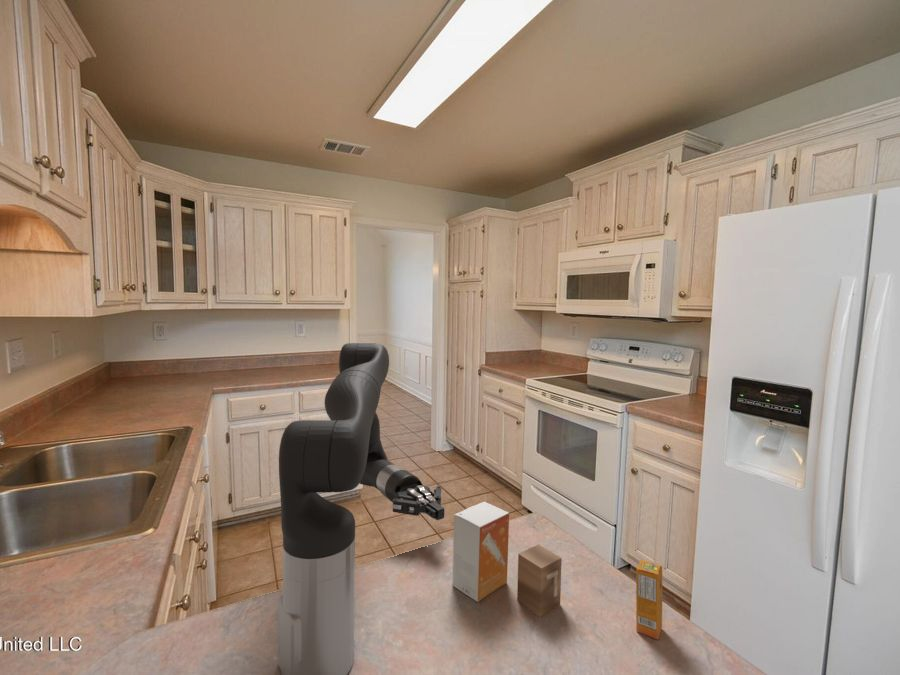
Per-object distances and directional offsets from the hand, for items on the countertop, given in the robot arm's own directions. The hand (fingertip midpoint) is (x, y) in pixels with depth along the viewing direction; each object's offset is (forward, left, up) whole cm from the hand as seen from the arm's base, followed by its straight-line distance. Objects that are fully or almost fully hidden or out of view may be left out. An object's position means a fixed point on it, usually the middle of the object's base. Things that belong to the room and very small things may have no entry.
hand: (441, 514), depth 83 cm
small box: (0, -12, -8) cm, 15 cm away
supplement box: (+14, -36, -8) cm, 39 cm away
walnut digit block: (+5, -22, -8) cm, 23 cm away
